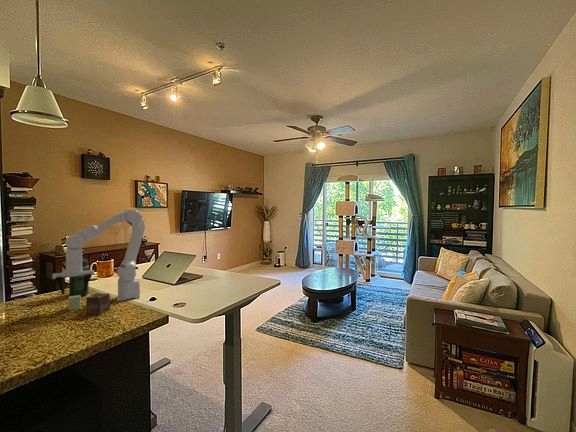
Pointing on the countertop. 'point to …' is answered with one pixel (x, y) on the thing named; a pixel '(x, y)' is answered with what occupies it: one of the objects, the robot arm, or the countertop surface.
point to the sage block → (74, 302)
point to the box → (98, 303)
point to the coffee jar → (79, 282)
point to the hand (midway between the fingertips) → (74, 292)
